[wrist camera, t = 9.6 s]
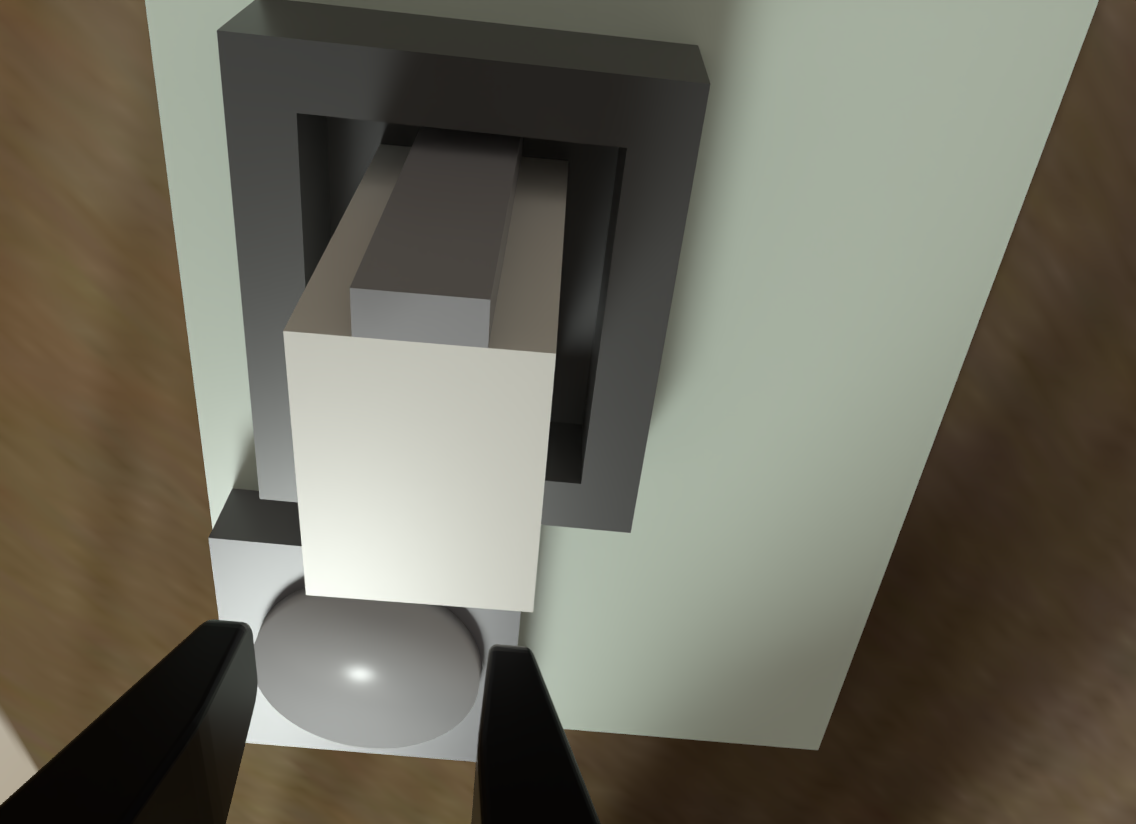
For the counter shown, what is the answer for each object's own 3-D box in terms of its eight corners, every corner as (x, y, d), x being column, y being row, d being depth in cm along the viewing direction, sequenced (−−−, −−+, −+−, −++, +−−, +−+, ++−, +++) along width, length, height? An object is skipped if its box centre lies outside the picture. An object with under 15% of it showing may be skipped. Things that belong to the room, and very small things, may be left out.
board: (811, 716, 25) (834, 824, 23) (246, 668, 25) (207, 773, 22) (1091, -68, 15) (1187, -28, 13) (149, -177, 15) (59, -157, 12)
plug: (550, 373, 18) (533, 611, 13) (384, 359, 18) (305, 595, 13) (571, 123, 16) (560, 305, 11) (379, 106, 16) (278, 281, 11)
